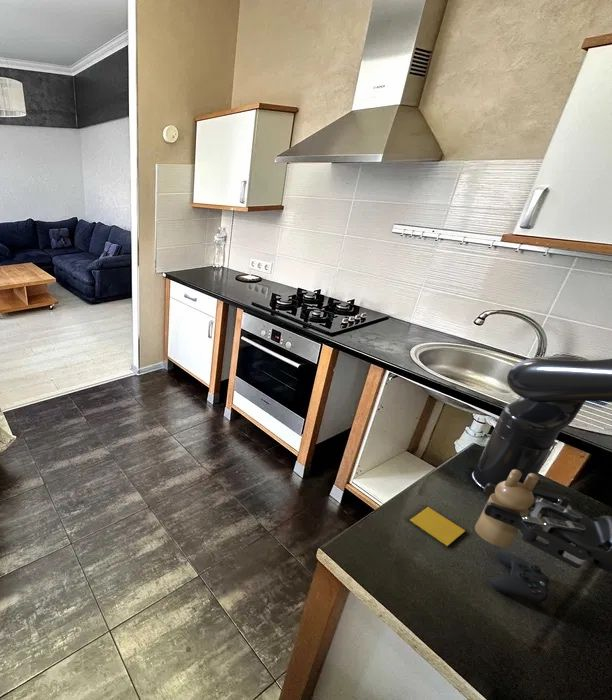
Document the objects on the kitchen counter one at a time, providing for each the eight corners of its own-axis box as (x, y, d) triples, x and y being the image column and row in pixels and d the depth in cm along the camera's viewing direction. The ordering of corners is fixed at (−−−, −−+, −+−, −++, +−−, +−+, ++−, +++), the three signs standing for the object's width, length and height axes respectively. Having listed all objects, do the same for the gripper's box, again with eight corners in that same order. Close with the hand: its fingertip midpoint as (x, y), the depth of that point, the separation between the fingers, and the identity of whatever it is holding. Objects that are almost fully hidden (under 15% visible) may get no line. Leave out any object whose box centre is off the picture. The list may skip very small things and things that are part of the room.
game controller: (494, 549, 71) (534, 548, 67) (512, 576, 70) (554, 576, 66) (487, 583, 65) (531, 584, 61) (507, 613, 64) (553, 617, 60)
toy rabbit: (470, 520, 65) (501, 458, 59) (504, 529, 63) (538, 466, 58) (480, 541, 61) (513, 477, 55) (515, 551, 59) (553, 487, 54)
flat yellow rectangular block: (427, 507, 82) (428, 506, 81) (464, 531, 76) (465, 530, 76) (409, 520, 78) (410, 519, 78) (447, 546, 73) (447, 545, 73)
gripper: (644, 505, 55) (492, 456, 65) (684, 579, 45) (496, 508, 54) (617, 541, 58) (476, 489, 68) (649, 617, 48) (477, 544, 57)
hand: (486, 498), depth 61 cm, fingers closed on toy rabbit, 4 cm apart
